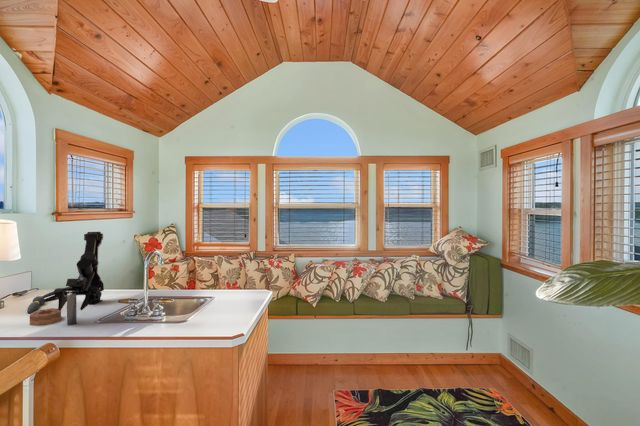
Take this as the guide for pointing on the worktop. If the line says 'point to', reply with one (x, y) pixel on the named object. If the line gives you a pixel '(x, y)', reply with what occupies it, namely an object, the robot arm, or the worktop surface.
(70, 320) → the brushed steel cylinder
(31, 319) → the bead
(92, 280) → the robot arm
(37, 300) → the paintbrush
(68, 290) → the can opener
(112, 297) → the worktop surface
